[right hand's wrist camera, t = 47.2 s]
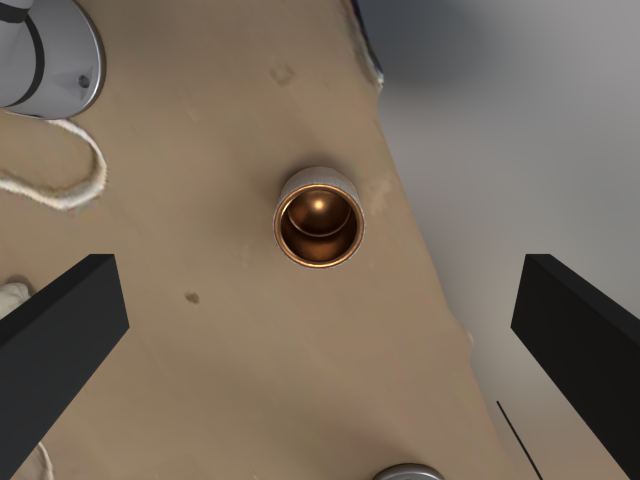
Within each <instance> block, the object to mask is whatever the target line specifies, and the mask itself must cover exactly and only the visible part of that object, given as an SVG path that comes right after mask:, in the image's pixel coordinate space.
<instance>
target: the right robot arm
mask: <svg viewBox="0 0 640 480" xmlns="http://www.w3.org/2000/svg"><path fill="white" fill-rule="evenodd" d="M105 76H106V57H105V51H104V46H103V43H102V40H101V37H100V35H99V32H98V30H97V28H96V26H95V24H94V23H93V21H92V19H91V18H90V16H89V15H88V14H87V12H86V11H85V10H84V9H83V7H82V6H81V5H80V4H79V3H78V2H77V1H76V0H0V108H4V109H7V110H9V111H12V112H15V113H10V112H6V113H9V114H13V115H19V116H25V117H31V118H35V119H40V120H57V119H65V118H70V117H73V116H76V115H78V114H80V113H82V112H84V111H85V110H87V109H88V108H89V107H90V106H91V105H92V104H93V103H94V102H95V101H96V99H97V98H98V96H99V94H100V92H101V90H102V88H103V85H104V81H105ZM3 112H4V111H3ZM16 113H18V114H16ZM128 329H129V322H128V318H127V313H126V308H125V303H124V299H123V294H122V289H121V284H120V280H119V275H118V270H117V265H116V261H115V256H114V254H89V255H88V256H87V257H85V258H84V259H83V260H81V261H80V262H79V263H77V264H76V265H74V266H73V267H72V268H70V269H69V270H68V271H66V272H65V273H64V274H62V275H61V276H59V277H58V278H57V279H55V280H54V281H53V282H51V283H50V284H48V285H47V286H46V287H44V288H43V289H42V290H40V291H39V292H38V293H36V294H35V295H33V296H32V297H31V298H29V299H28V300H27V301H25V302H24V303H23V304H21V305H20V306H18V307H17V308H16V309H14V310H13V311H12V312H10V313H9V314H8V315H6V316H5V317H3V318H2V319H1V320H0V480H10V479H11V477H12V476H13V475H14V473H15V472H16V471H17V470H18V468H19V467H20V466H21V465H22V463H23V462H24V461H25V460H26V458H27V457H28V456H29V454H30V453H31V452H32V451H33V449H34V448H35V447H36V446H37V444H38V443H39V442H40V440H41V439H42V438H43V437H44V435H45V434H46V433H47V432H48V430H49V429H50V428H51V427H52V425H53V424H54V423H55V421H56V420H57V419H58V418H59V416H60V415H61V414H62V413H63V411H64V410H65V409H66V407H67V406H68V405H69V404H70V402H71V401H72V400H73V399H74V397H75V396H76V395H77V394H78V392H79V391H80V390H81V388H82V387H83V386H84V385H85V383H86V382H87V381H88V380H89V378H90V377H91V376H92V374H93V373H94V372H95V371H96V369H97V368H98V367H99V366H100V364H101V363H102V362H103V360H104V359H105V358H106V357H107V355H108V354H109V353H110V352H111V350H112V349H113V348H114V347H115V345H116V344H117V343H118V341H119V340H120V339H121V338H122V336H123V335H124V334H125V333H126V331H127V330H128ZM511 329H512V330H513V331H514V333H515V334H516V335H517V336H518V338H519V339H520V340H521V341H522V343H523V344H524V345H525V347H526V348H527V349H528V350H529V352H530V353H531V354H532V355H533V357H534V358H535V359H536V360H537V362H538V363H539V364H540V366H541V367H542V368H543V369H544V371H545V372H546V373H547V374H548V376H549V377H550V378H551V379H552V381H553V382H554V383H555V385H556V386H557V387H558V388H559V390H560V391H561V392H562V394H563V395H564V396H565V397H566V399H567V400H568V401H569V402H570V404H571V405H572V406H573V407H574V409H575V410H576V411H577V413H578V414H579V415H580V416H581V418H582V419H583V420H584V421H585V423H586V424H587V425H588V427H589V428H590V429H591V430H592V432H593V433H594V434H595V435H596V437H597V438H598V439H599V440H600V442H601V443H602V444H603V446H604V447H605V448H606V449H607V451H608V452H609V453H610V454H611V456H612V457H613V458H614V460H615V461H616V462H617V463H618V465H619V466H620V467H621V468H622V470H623V471H624V472H625V473H626V475H627V476H628V477H629V479H630V480H640V320H639V319H638V318H637V317H635V316H634V315H632V314H631V313H630V312H628V311H627V310H626V309H624V308H623V307H622V306H620V305H619V304H617V303H616V302H615V301H613V300H612V299H611V298H609V297H608V296H606V295H605V294H604V293H602V292H601V291H600V290H598V289H597V288H596V287H594V286H593V285H591V284H590V283H589V282H587V281H586V280H585V279H583V278H582V277H581V276H579V275H578V274H576V273H575V272H574V271H572V270H571V269H570V268H568V267H567V266H566V265H564V264H563V263H561V262H560V261H559V260H557V259H556V258H555V257H553V256H552V255H550V254H526V256H525V261H524V265H523V270H522V275H521V280H520V284H519V289H518V294H517V299H516V303H515V308H514V313H513V318H512V322H511Z"/></svg>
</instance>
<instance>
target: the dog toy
mask: <svg viewBox="0 0 640 480" xmlns="http://www.w3.org/2000/svg"><path fill="white" fill-rule="evenodd" d="M29 298H31V296H30V295H29V293H28V288H27V286H26V285H24V284H22V283H8V284H5V285H2V286H0V320H1V319H2V318H3V317H5V316H6V315H8V314H9V313H10V312H12V311H13V310H14V309H16V308H17V307H18V306H20V305H21V304H23V303H24V302H25V301H27V300H28V299H29Z"/></svg>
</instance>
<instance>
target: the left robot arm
mask: <svg viewBox="0 0 640 480" xmlns="http://www.w3.org/2000/svg"><path fill="white" fill-rule="evenodd" d="M496 403H497V404H498V406H499V408H500V410H501V412H502V414H503V415H504V417H505V419H506V421H507V422H508V424H509V426H510V428H511V429H512V431H513V433H514V435H515V436H516V438H517V440H518V442H519V443H520V445H521V447H522V449H523V450H524V452H525V454H526V456H527V457H528V459H529V461H530V463H531V465H532V466H533V468H534V470H535V472H536V474H537V476H538V477H539V479H540V480H543V478H542V477H541V475H540V473H539V471H538V469H537V467H536V466H535V464H534V462H533V460H532V459H531V457H530V455H529V453H528V452H527V450H526V448H525V446H524V445H523V443H522V441H521V440H520V438H519V436H518V435H517V433H516V431H515V429H514V428H513V426H512V424H511V422H510V421H509V419H508V417H507V415H506V414H505V412H504V410H503V408H502V407H501V405H500V403H499V401H496ZM373 480H445V479H444V478H443V477H442V476H441V475H440V474H439V473H438V472H437V471H435V470H433V469H431V468H429V467H426V466H422V465H416V464H405V465H399V466H395V467H391V468H389V469H387V470H385V471H383V472H381V473H380V474H378V475H377V476H376V477H375V478H374V479H373Z"/></svg>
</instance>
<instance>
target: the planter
mask: <svg viewBox="0 0 640 480" xmlns="http://www.w3.org/2000/svg"><path fill="white" fill-rule="evenodd" d="M364 234H365V218H364V214H363V210H362V207H361V204H360V200H359V197H358V193H357V191H356V189H355V187H354V185H353V184H352V182H351V181H350V180H349V179H348V178H347V177H346V176H345V175H344V174H342V173H341V172H339V171H337V170H335V169H332V168H329V167H323V166H315V167H309V168H306V169H303V170H301V171H299V172H298V173H296V174H295V175H293V176H292V177H291V178H290V179H289V180H288V181H287V182H286V184H285V185H284V187H283V189H282V191H281V194H280V197H279V201H278V204H277V207H276V210H275V213H274V217H273V235H274V238H275V241H276V244H277V246H278V247H279V249H280V250H281V252H282V253H283V254H284V255H285V256H286V257H287V258H288V259H289V260H291V261H292V262H294V263H295V264H297V265H299V266H302V267H305V268H308V269H315V270H323V269H330V268H333V267H336V266H339V265H341V264H343V263H344V262H346V261H347V260H349V259H350V258H351V257H352V256H353V255H354V254H355V253H356V252H357V250H358V249H359V247H360V245H361V243H362V241H363V238H364Z"/></svg>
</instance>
